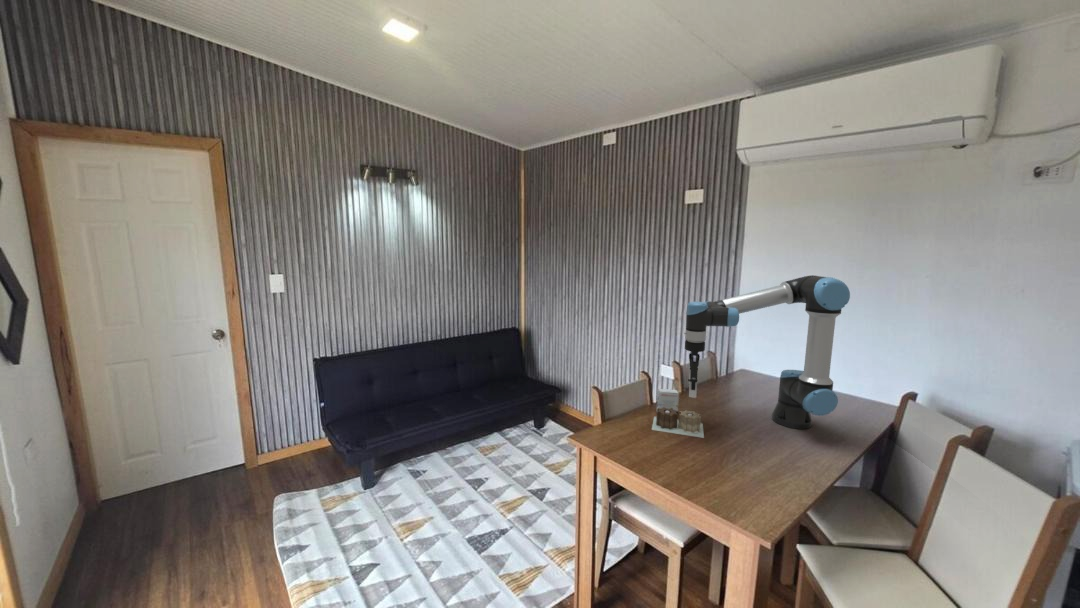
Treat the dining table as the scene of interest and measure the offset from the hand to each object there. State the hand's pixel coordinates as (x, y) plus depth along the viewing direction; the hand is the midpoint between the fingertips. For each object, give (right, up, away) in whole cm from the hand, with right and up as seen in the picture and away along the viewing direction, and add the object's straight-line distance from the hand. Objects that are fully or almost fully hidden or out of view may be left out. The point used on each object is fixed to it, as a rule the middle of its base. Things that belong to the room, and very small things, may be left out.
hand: (692, 391), depth 171 cm
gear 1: (-9, -15, +5) cm, 18 cm away
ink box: (-5, -15, +17) cm, 23 cm away
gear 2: (-1, -16, +2) cm, 16 cm away
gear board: (-5, -17, +4) cm, 18 cm away
